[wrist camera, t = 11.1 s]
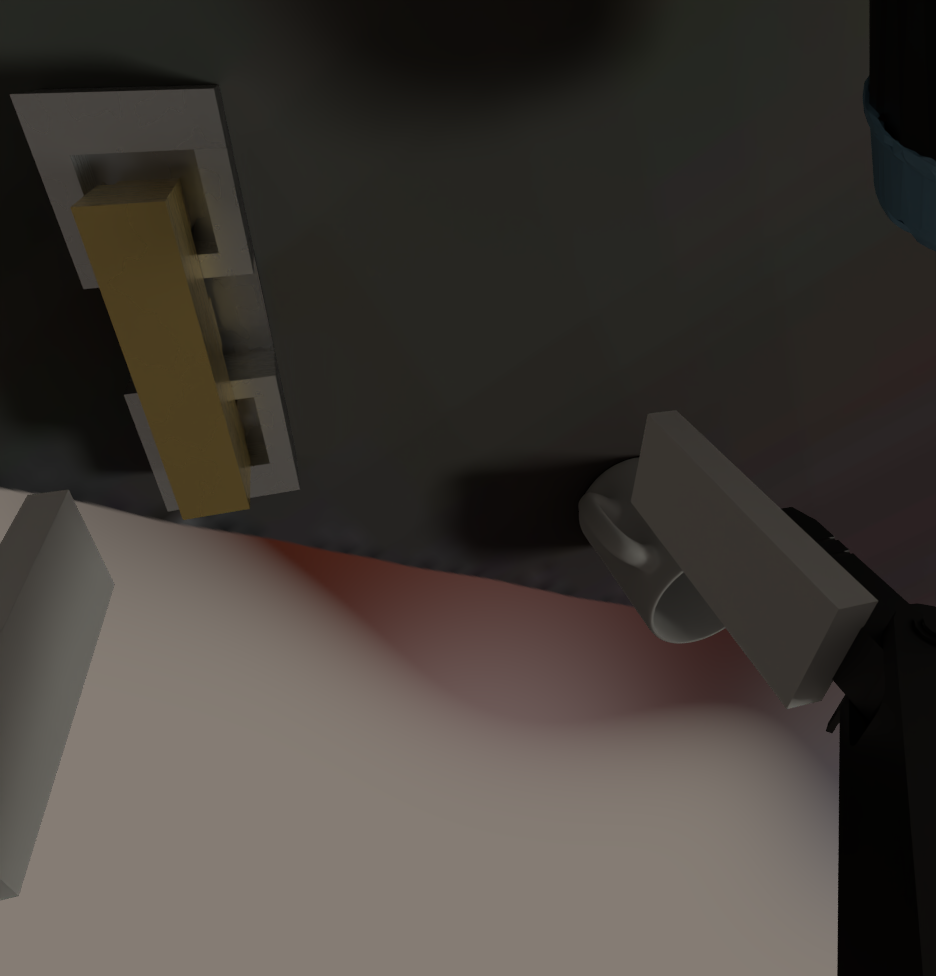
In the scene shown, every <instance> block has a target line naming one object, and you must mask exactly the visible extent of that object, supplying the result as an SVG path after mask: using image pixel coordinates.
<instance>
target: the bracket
mask: <svg viewBox="0 0 936 976" xmlns="http://www.w3.org/2000/svg"><path fill="white" fill-rule="evenodd" d="M10 97H11V99H12V102H13V105H14V107H15V110H16V113H17V115H18V118H19V120H20V123H21V126H22V128H23V131H24V134H25V136H26V139H27V142H28V144H29V147H30V149H31V152H32V155H33V157H34V160H35V163H36V165H37V168H38V171H39V173H40V176H41V178H42V181H43V184H44V186H45V189H46V192H47V194H48V197H49V200H50V202H51V205H52V207H53V210H54V213H55V215H56V218H57V221H58V223H59V226H60V228H61V231H62V234H63V236H64V239H65V242H66V244H67V247H68V250H69V252H70V255H71V257H72V260H73V263H74V265H75V268H76V271H77V273H78V276H79V279H80V281H81V284H82V286H83V289H91V288H99V286H98V283H97V280H96V277H95V274H94V272H93V269H92V266H91V263H90V261H89V258H88V255H87V252H86V250H85V247H84V244H83V241H82V238H81V236H80V233H79V230H78V227H77V225H76V222H75V219H74V216H73V214H72V211H71V208H70V207H71V206H72V205H74V204H75V203H76V202H77V201H79V200H80V199H81V198H82V197H83V196H85V195H86V194H87V193H88V192H90V191H91V190H92V189H93V188H94V187H96V186H97V185H114V184H115V183H117V182H118V181H134V180H152V179H171V178H180V182H181V186H182V190H183V194H184V198H185V201H186V205H187V209H188V213H189V217H190V221H191V225H192V227H191V233H192V237H193V241H194V245H195V249H196V253H197V256H198V260H199V264H200V268H201V272H202V276H203V279H204V283H205V287H206V291H207V295H208V297H210V298H211V302H212V306H213V310H214V314H215V318H216V322H217V325H218V329H219V333H220V337H221V341H222V345H223V346H222V352H223V356H224V360H225V364H226V368H227V372H228V376H229V379H230V383H231V387H232V391H233V395H234V399H235V402H237V403H238V407H239V411H240V414H241V418H242V422H243V426H244V430H245V441H246V445H247V449H248V452H249V456H250V460H251V470H250V498H252V497H258V496H264V495H270V494H276V493H282V492H288V491H294V490H300V486H299V475H298V465H297V455H296V449H295V445H294V440H293V435H292V430H291V426H290V421H289V416H288V411H287V407H286V402H285V397H284V392H283V388H282V383H281V378H280V373H279V369H278V364H277V359H276V354H275V349H274V345H273V340H272V335H271V330H270V326H269V321H268V316H267V311H266V307H265V302H264V297H263V292H262V288H261V283H260V278H259V273H258V269H257V264H256V259H255V254H254V249H253V245H252V240H251V235H250V230H249V226H248V221H247V216H246V211H245V207H244V202H243V197H242V192H241V188H240V183H239V178H238V173H237V169H236V164H235V159H234V154H233V149H232V145H231V140H230V135H229V130H228V126H227V121H226V116H225V111H224V107H223V102H222V97H221V92H220V88H219V85H187V86H149V87H112V88H74V89H40V90H34V91H27V92H21V93H15V94H10ZM124 397H125V400H126V402H127V405H128V408H129V410H130V413H131V416H132V418H133V421H134V423H135V426H136V429H137V431H138V434H139V437H140V439H141V442H142V444H143V447H144V450H145V452H146V455H147V458H148V460H149V463H150V466H151V468H152V471H153V473H154V476H155V479H156V481H157V484H158V487H159V489H160V492H161V495H162V497H163V500H164V502H165V505H166V508H167V510H168V511H173V510H179V507H178V504H177V502H176V499H175V496H174V493H173V490H172V488H171V485H170V482H169V479H168V477H167V474H166V471H165V468H164V466H163V463H162V460H161V457H160V454H159V452H158V449H157V446H156V443H155V441H154V438H153V435H152V432H151V430H150V427H149V424H148V421H147V418H146V416H145V413H144V410H143V407H142V405H141V402H140V399H139V396H138V394H137V391H136V388H135V385H134V382H133V380H132V377H130V380H129V382H128V385H127V387H126V390H125V393H124Z"/></svg>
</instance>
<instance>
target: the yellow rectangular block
mask: <svg viewBox="0 0 936 976" xmlns="http://www.w3.org/2000/svg"><path fill="white" fill-rule="evenodd" d="M70 208H71V211H72V214H73V216H74V219H75V222H76V225H77V227H78V230H79V233H80V236H81V238H82V241H83V244H84V247H85V250H86V252H87V255H88V258H89V261H90V263H91V266H92V269H93V272H94V274H95V277H96V280H97V283H98V286H99V288H100V291H101V294H102V297H103V299H104V302H105V305H106V308H107V310H108V313H109V316H110V319H111V322H112V324H113V327H114V330H115V333H116V335H117V338H118V341H119V344H120V346H121V349H122V352H123V355H124V358H125V360H126V363H127V366H128V369H129V371H130V374H131V377H132V380H133V382H134V385H135V388H136V391H137V394H138V396H139V399H140V402H141V405H142V407H143V410H144V413H145V416H146V418H147V421H148V424H149V427H150V430H151V432H152V435H153V438H154V441H155V443H156V446H157V449H158V452H159V454H160V457H161V460H162V463H163V466H164V468H165V471H166V474H167V477H168V479H169V482H170V485H171V488H172V490H173V493H174V496H175V499H176V502H177V504H178V507H179V510H180V513H181V515H182V518H183V520H186V519H192V518H197V517H203V516H209V515H215V514H221V513H227V512H233V511H239V510H245V509H250V470H251V460H250V456H249V452H248V449H247V445H246V441H245V430H244V426H243V422H242V418H241V414H240V411H239V407H238V403H237V402H235V399H234V395H233V391H232V387H231V383H230V379H229V376H228V372H227V368H226V364H225V360H224V356H223V352H222V346H223V345H222V341H221V337H220V333H219V329H218V325H217V322H216V318H215V314H214V310H213V306H212V302H211V298H210V297H208V295H207V291H206V287H205V283H204V279H203V276H202V272H201V268H200V264H199V260H198V256H197V253H196V249H195V245H194V241H193V237H192V233H191V227H192V225H191V221H190V217H189V213H188V209H187V205H186V201H185V198H184V194H183V190H182V186H181V182H180V178H171V179H152V180H134V181H118V182H117V183H115V184H114V185H97V186H96V187H94V188H93V189H92V190H91V191H90V192H88V193H87V194H86V195H85V196H83V197H82V198H81V199H80V200H79V201H77V202H76V203H75V204H74V205H72V206H71V207H70Z"/></svg>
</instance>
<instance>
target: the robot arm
mask: <svg viewBox="0 0 936 976" xmlns="http://www.w3.org/2000/svg"><path fill="white" fill-rule="evenodd" d="M863 105H864V113H865V116H866V119H867V122H868V124H869V126H870V131H871V146H872V160H873V175H874V186H875V191H876V195H877V197H878V200H879V203H880V205H881V207H882V208H883V210H884V211H885V213H886V215H887V216H888V217H889V219H890V220H891V221H892V222H893V223H894V224H896V225H897V226H898V227H900V228H901V229H903V230H904V231H907V232H909V233H911V234H912V235H913V236H914V237H915V239H916V240H917V242H919V243H920V244H922V245H924V246H926V247H927V248H929V249H932V250H934V251H936V0H870V75H869V77H868V78H867V79H866V81H865V83H864V90H863ZM631 503H632V504H633V505H634V507H635V508H636V509H637V511H638V512H639V513H640V515H641V516H642V517H643V519H644V520H645V521H646V523H647V524H648V525H649V527H650V528H651V529H652V531H653V532H654V533H655V535H656V536H657V537H658V539H659V540H660V541H661V543H662V544H663V545H664V547H665V548H666V549H667V551H668V552H669V553H670V555H671V556H672V557H673V559H674V560H675V561H676V563H677V564H678V565H679V567H680V568H681V569H682V571H683V572H684V573H685V575H686V576H687V577H688V579H689V580H690V581H691V583H692V584H693V585H694V586H695V588H696V589H697V590H698V592H699V593H700V594H701V596H702V597H703V598H704V600H705V601H706V602H707V604H708V605H709V606H710V608H711V609H712V610H713V612H714V613H715V614H716V616H717V617H718V618H719V620H720V621H721V622H722V624H723V625H724V626H725V628H726V629H727V630H728V632H729V633H730V634H731V636H732V637H733V638H734V640H735V641H736V642H737V643H738V645H739V646H740V648H741V649H742V650H743V652H744V653H745V654H746V656H747V657H748V658H749V659H750V661H751V662H752V664H753V665H754V666H755V667H756V669H757V670H758V671H759V673H760V674H761V675H762V677H763V678H764V679H765V681H766V682H767V683H768V685H769V686H770V687H771V689H772V690H773V691H774V693H775V694H776V695H777V697H778V698H779V699H780V701H781V702H782V703H783V705H784V706H785V707H786V709H789V708H793V707H798V706H801V705H806V704H810V703H814V702H818V701H822V699H823V697H824V696H825V694H826V692H827V690H828V689H829V687H830V685H831V683H832V682H833V681H834V682H835V683H836V684H837V685H838V686H839V688H840V689H841V690H842V691H843V692H844V693H845V696H844V698H843V699H842V701H841V703H840V704H839V706H838V708H837V709H836V711H835V713H834V714H833V716H832V718H831V719H830V721H829V723H828V726H827V729H826V731H827V732H830V733H833V731H834V730H835V728H836V726H837V725H838V723H840V754H839V756H840V757H839V758H840V759H839V863H838V866H839V868H838V871H839V872H838V974H837V975H838V976H936V607H934V606H929V605H923V604H909V603H908V602H906V601H905V600H904V599H903V598H902V597H901V596H900V595H899V594H897V593H896V592H895V591H894V590H893V589H892V588H891V587H890V586H889V585H887V584H886V583H885V582H884V581H883V580H882V579H881V578H880V577H879V576H877V575H876V574H875V573H874V572H873V571H872V570H871V569H870V568H869V567H867V566H866V565H865V564H864V563H863V562H862V561H861V560H860V559H859V558H858V557H856V556H855V555H854V554H850V553H849V549H848V548H846V547H845V546H844V545H843V544H842V543H841V542H840V541H839V540H835V539H834V536H833V535H832V534H831V533H830V532H829V531H828V530H826V529H825V528H824V527H823V526H822V525H821V524H820V523H819V522H818V521H816V520H815V519H813V518H811V517H809V516H807V515H806V514H804V513H802V512H800V511H798V510H796V509H794V508H793V507H789V508H783V509H780V508H779V507H778V506H777V505H776V504H775V503H774V502H773V501H772V500H771V499H770V498H769V497H768V496H767V495H765V494H764V493H763V492H762V491H761V490H760V489H759V488H758V487H757V486H756V485H755V484H754V483H753V482H752V481H751V480H750V479H748V478H747V477H746V476H745V475H744V474H743V473H742V472H741V471H740V470H739V469H738V468H737V467H736V466H735V465H734V464H733V463H732V462H730V461H729V460H728V459H727V458H726V457H725V456H724V455H723V454H722V453H721V452H720V451H719V450H718V449H717V448H716V447H715V446H713V445H712V444H711V443H710V442H709V441H708V440H707V439H706V438H705V437H704V436H703V435H702V434H701V433H700V432H699V431H698V430H696V429H695V428H694V427H693V426H692V425H691V424H690V423H689V422H688V421H687V420H686V419H685V418H684V417H683V416H682V415H681V414H680V413H678V412H677V411H676V410H673V411H666V412H658V413H650V414H648V416H647V421H646V426H645V432H644V437H643V442H642V447H641V452H640V457H639V462H638V467H637V472H636V477H635V482H634V487H633V493H632V498H631ZM113 588H114V582H113V580H112V578H111V576H110V574H109V572H108V570H107V568H106V566H105V564H104V562H103V560H102V558H101V556H100V553H99V551H98V549H97V547H96V545H95V543H94V541H93V539H92V537H91V535H90V533H89V531H88V529H87V527H86V525H85V523H84V520H83V519H82V516H81V514H80V512H79V510H78V508H77V506H76V504H75V502H74V500H73V498H72V496H71V494H70V492H69V490H63V491H55V492H48V493H40V494H32V495H27V497H26V499H25V501H24V503H23V504H22V506H21V508H20V510H19V511H18V513H17V515H16V517H15V519H14V520H13V522H12V524H11V526H10V528H9V529H8V531H7V533H6V535H5V536H4V538H3V540H2V542H1V544H0V900H3V899H8V898H12V897H16V896H19V893H20V890H21V887H22V883H23V880H24V877H25V874H26V870H27V867H28V864H29V861H30V857H31V854H32V851H33V847H34V844H35V841H36V838H37V834H38V831H39V828H40V825H41V822H42V818H43V815H44V812H45V809H46V805H47V802H48V799H49V796H50V792H51V789H52V786H53V783H54V779H55V776H56V773H57V770H58V766H59V763H60V760H61V757H62V753H63V750H64V747H65V744H66V740H67V737H68V734H69V731H70V728H71V724H72V721H73V717H74V715H75V711H76V708H77V705H78V702H79V698H80V695H81V692H82V688H83V685H84V682H85V679H86V676H87V672H88V669H89V666H90V662H91V659H92V656H93V653H94V650H95V646H96V643H97V640H98V637H99V633H100V630H101V627H102V624H103V620H104V617H105V614H106V610H107V607H108V604H109V601H110V597H111V594H112V591H113Z"/></svg>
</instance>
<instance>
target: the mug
mask: <svg viewBox="0 0 936 976" xmlns="http://www.w3.org/2000/svg"><path fill="white" fill-rule="evenodd" d="M638 462H639V457H638V458H632V459H629V460H625V461H623V462H620V463H618V464H616V465H614V466H612V467H611V468H609V469H608V470H606V471H605V472H604V473H602V474H601V475H600V476H599V477H598V478H597V479H596V480H595V481H594V482H593V483H592V484H591V486H590V487H589V489H588V490H587V492H586V493H585V494H584V495H583V496H582V498H581V499H580V501H579V504H578V508H579V523H580V527H581V529H582V532H583V534H584V535H585V537H586V538H587V540H588V541H589V543H590V544H591V545H592V547H593V548H594V549H595V551H596V552H597V554H598V555H599V556H600V558H601V559H602V561H603V562H604V563H605V565H606V566H607V568H608V569H609V571H610V572H611V574H612V575H613V577H614V578H615V579H616V581H617V582H618V584H619V585H620V587H621V588H622V590H623V591H624V593H625V594H626V596H627V597H628V598H629V600H630V601H631V603H632V604H633V606H634V607H635V609H636V610H637V612H638V613H639V614H640V616H641V617H642V619H643V620H644V622H645V623H646V625H647V626H648V628H649V629H650V630H651V631H652V633H654V635H655V636H657V637H658V638H660V639H661V640H664V641H666V642H671V643H689V642H694V641H698V640H701V639H704V638H707V637H709V636H711V635H713V634H715V633H717V632H719V631H721V630H723V629H724V628H725V626H724V625H723V624H722V622H721V621H720V620H719V618H718V617H717V616H716V614H715V613H714V612H713V610H712V609H711V608H710V606H709V605H708V604H707V602H706V601H705V600H704V598H703V597H702V596H701V594H700V593H699V592H698V590H697V589H696V588H695V586H694V585H693V584H692V583H691V581H690V580H689V579H688V577H687V576H686V575H685V573H684V572H683V571H682V569H681V568H680V567H679V565H678V564H677V563H676V561H675V560H674V559H673V557H672V556H671V555H670V553H669V552H668V551H667V549H666V548H665V547H664V545H663V544H662V543H661V541H660V540H659V539H658V537H657V536H656V535H655V533H654V532H653V531H652V529H651V528H650V527H649V525H648V524H647V523H646V521H645V520H644V519H643V517H642V516H641V515H640V513H639V512H638V511H637V509H636V508H635V507H634V505H633V504H632V503H631V498H632V493H633V487H634V482H635V477H636V472H637V467H638Z"/></svg>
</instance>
